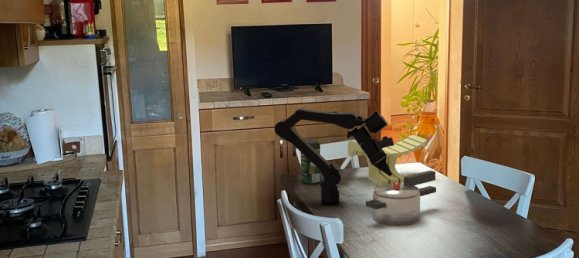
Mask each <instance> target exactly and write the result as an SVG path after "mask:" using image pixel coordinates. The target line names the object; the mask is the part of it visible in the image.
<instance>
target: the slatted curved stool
mask: <svg viewBox="0 0 579 258" xmlns="http://www.w3.org/2000/svg"><path fill="white" fill-rule="evenodd" d="M422 147H424V148H425V147H428V139H427V138H423V137H421V136H418V135H415V134H412V135H409V136H407V138H403V139H401V141H397V142H395V143H394V146H389V147H385V148H382V149H383V151H384V152H385V153H386V155H387V159H386V163H387V165H388V167H389V169H390V171H391V173H392V175H391V176H389V175H387V174H386V173H384V172H383V171H381V170H379V169H378V168H376V167H375V166H373V165H372V164H371V162H370V161H369V158H368V157H367V155H366V154H365V153H364V151H363V150H362V149H361V147H360V145H359V144H358V143H357V142H356V141H354V140H352V139H349V140H348V143H347V156H349V157H350V158H352V157H355V156H365V159H366V162H367V166H368V172H367V174H368V175H367V177H368V179H369V178H371V179H372V180H371V179H370V180H371V181H373V180H374V181H375V183H376V182H377V183H376V184H377V185H379V184H380V185H381V184H388V183H394V182H398V183H401V184H404V177H405V176H404V175H402V174H401V173H400V172H399V171H398V170H397V169H396V162H397V160H398V158H399V155H401V156H406V155H409V154H410V153H415V152H416V150H422ZM374 181H373V182H374Z"/></svg>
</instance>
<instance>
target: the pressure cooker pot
mask: <svg viewBox="0 0 579 258" xmlns="http://www.w3.org/2000/svg"><path fill="white" fill-rule="evenodd" d="M435 193H437V187H436V186H431V185H428V186H424V187H421V188H419V194H418V195H417V196H415V197H411V198H401V199H396V198H386V197H381V196H378V195H376V194H375V193H374V190H373V191H372V199H370V200H367V201H365V207H367V208H371V209H372V219H373V221H375V222H376V223H378V224H381V225H385V226H394V227H405V226H411V225H416V224H417V223H419V222H420V220H421V197H424V196H428V195H431V194H435Z"/></svg>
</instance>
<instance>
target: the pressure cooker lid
mask: <svg viewBox="0 0 579 258" xmlns="http://www.w3.org/2000/svg"><path fill="white" fill-rule="evenodd" d="M434 181H436V171H435V170H426V171H421V172H418V173H414V174H409V175H406V176H404V183H398V182H394V183H388V184H381V185H379V184H377V185H376V186H375V187H374V188H373V191H374V193H375V194H376V195H378V196H381V197H386V198H396V199H401V198H411V197H415V196H417V195H418V194H419V189H420V188H419V187H418V185H422V184H427V183H429V182H434Z"/></svg>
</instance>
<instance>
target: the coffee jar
mask: <svg viewBox="0 0 579 258" xmlns="http://www.w3.org/2000/svg"><path fill="white" fill-rule="evenodd" d="M303 139H304V140H305V141H306V142H307V143H308V144H309V145H310V146H312V147H313V148H314V149H315V150H316V151H317V152H318V153H319V154H320V155H321V143H320V142H319V141H316V140H315V139H312V138H303ZM299 152H300V151H299ZM299 154H300V180H301V181H302V182H303V183H304V184H307V185H308V184H310V185H315V184H318V183H321V182H322V174H321V172H320V170H319V169H318V168H317V167H316V166H315V165H314V164H313V163H312V162H311V161H310V160H309V159H308V158H307V157H306V156H305V155H304V154H302V153H301V152H300V153H299Z"/></svg>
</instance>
